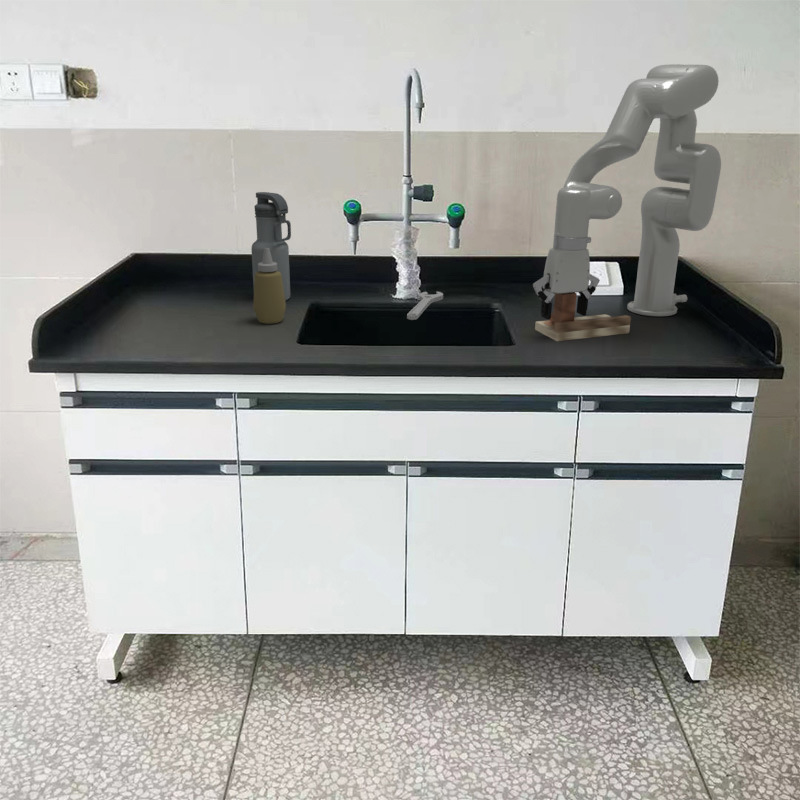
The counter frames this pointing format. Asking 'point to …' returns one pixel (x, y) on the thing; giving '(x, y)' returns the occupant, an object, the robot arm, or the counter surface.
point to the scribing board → (579, 334)
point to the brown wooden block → (564, 308)
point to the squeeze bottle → (268, 291)
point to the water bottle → (272, 235)
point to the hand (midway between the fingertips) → (563, 316)
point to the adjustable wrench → (423, 304)
